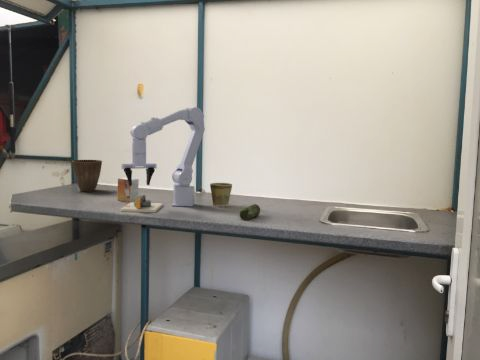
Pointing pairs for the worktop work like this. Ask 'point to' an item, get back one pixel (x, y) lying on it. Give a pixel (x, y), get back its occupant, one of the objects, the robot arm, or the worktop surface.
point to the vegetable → (249, 211)
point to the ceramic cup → (220, 193)
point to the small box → (127, 190)
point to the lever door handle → (142, 202)
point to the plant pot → (87, 173)
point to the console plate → (142, 208)
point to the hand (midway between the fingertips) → (139, 185)
